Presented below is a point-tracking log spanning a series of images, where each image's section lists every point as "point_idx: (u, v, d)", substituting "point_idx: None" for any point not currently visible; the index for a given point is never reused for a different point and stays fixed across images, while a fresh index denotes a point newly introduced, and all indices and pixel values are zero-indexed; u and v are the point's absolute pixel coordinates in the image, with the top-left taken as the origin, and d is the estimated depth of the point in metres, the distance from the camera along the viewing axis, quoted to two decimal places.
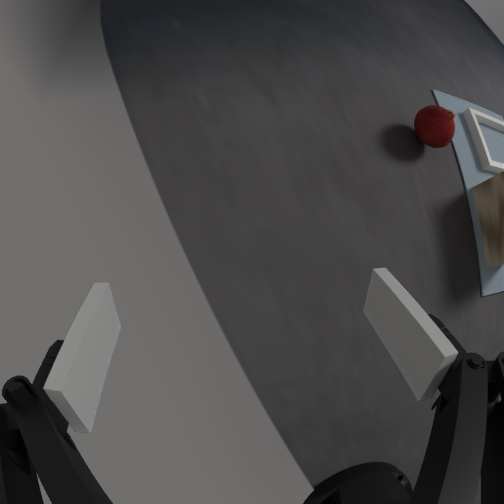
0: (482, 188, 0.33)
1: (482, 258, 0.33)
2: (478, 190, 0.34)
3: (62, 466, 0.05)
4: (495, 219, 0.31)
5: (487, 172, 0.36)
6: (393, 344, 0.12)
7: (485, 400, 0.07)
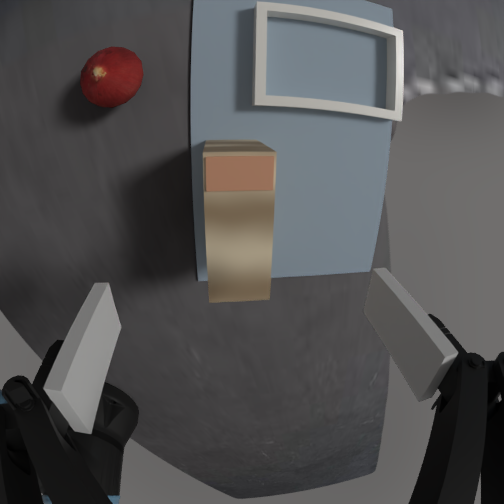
0: None
1: (201, 239, 0.33)
2: None
3: (62, 467, 0.05)
4: None
5: (264, 109, 0.27)
6: (393, 344, 0.12)
7: (485, 400, 0.07)
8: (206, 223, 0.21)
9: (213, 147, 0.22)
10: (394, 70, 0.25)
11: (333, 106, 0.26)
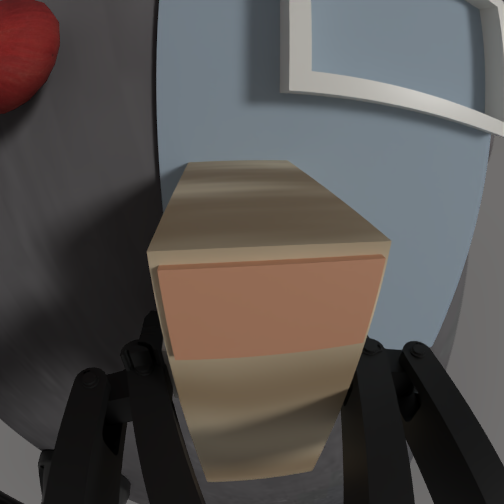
0: None
1: None
2: None
3: (168, 437, 0.06)
4: None
5: (304, 101, 0.14)
6: None
7: (392, 386, 0.08)
8: (186, 409, 0.08)
9: (193, 202, 0.08)
10: (500, 57, 0.11)
11: (430, 105, 0.12)
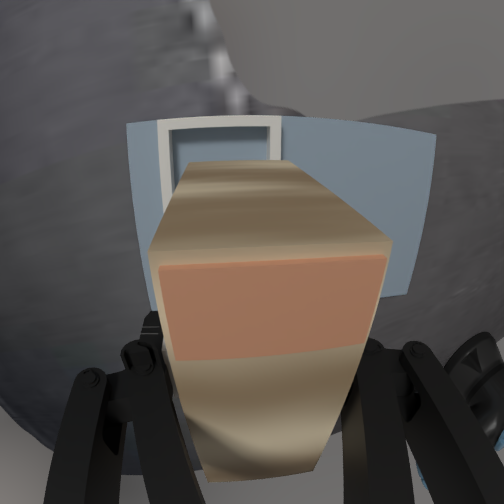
0: None
1: None
2: None
3: (168, 437, 0.06)
4: None
5: None
6: None
7: (392, 386, 0.08)
8: (186, 409, 0.08)
9: (194, 202, 0.08)
10: (216, 126, 0.25)
11: None
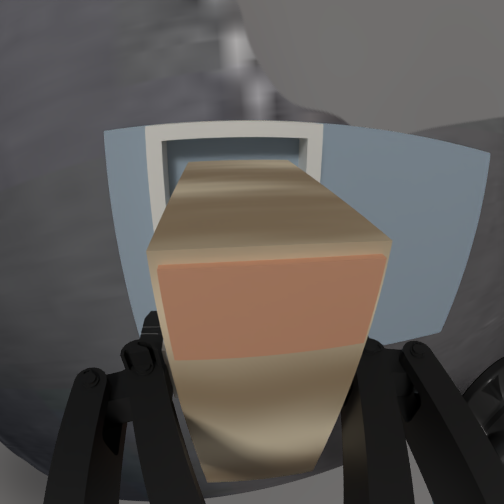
0: None
1: (411, 334, 0.30)
2: None
3: (168, 438, 0.06)
4: None
5: None
6: None
7: (392, 386, 0.08)
8: (186, 409, 0.08)
9: (193, 202, 0.08)
10: (230, 136, 0.17)
11: None
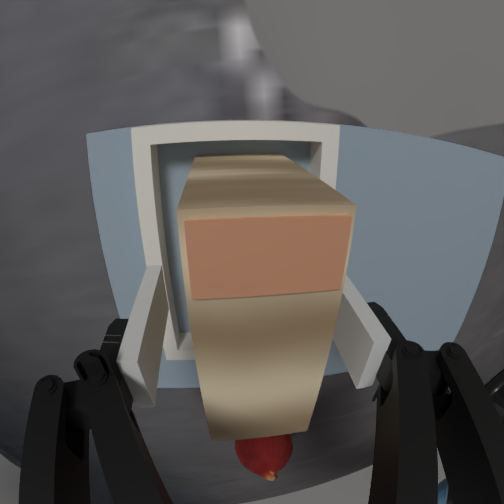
0: None
1: None
2: None
3: (126, 445, 0.06)
4: None
5: None
6: (335, 331, 0.13)
7: (429, 388, 0.08)
8: (197, 352, 0.10)
9: (205, 182, 0.10)
10: (231, 139, 0.15)
11: None
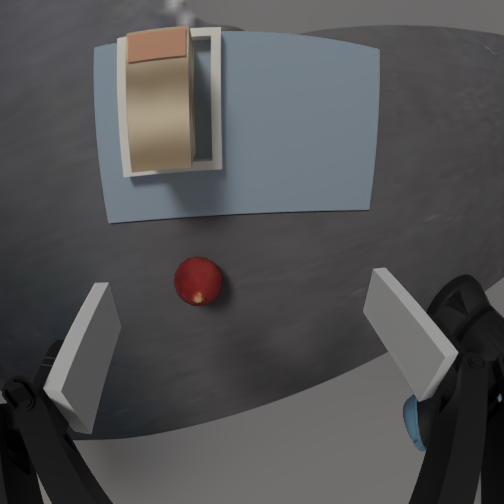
0: None
1: (335, 204, 0.37)
2: None
3: (62, 466, 0.05)
4: None
5: (224, 154, 0.33)
6: (392, 344, 0.12)
7: (485, 400, 0.07)
8: (127, 90, 0.20)
9: None
10: None
11: (216, 99, 0.28)
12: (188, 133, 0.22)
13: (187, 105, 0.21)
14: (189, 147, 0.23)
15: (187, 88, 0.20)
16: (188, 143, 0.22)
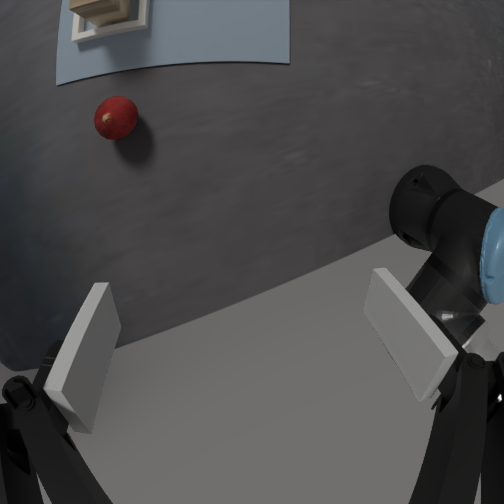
0: None
1: (251, 56, 0.34)
2: None
3: (62, 466, 0.05)
4: None
5: (150, 20, 0.30)
6: (393, 344, 0.12)
7: (485, 400, 0.07)
8: None
9: None
10: None
11: None
12: None
13: None
14: None
15: None
16: None
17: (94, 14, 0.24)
